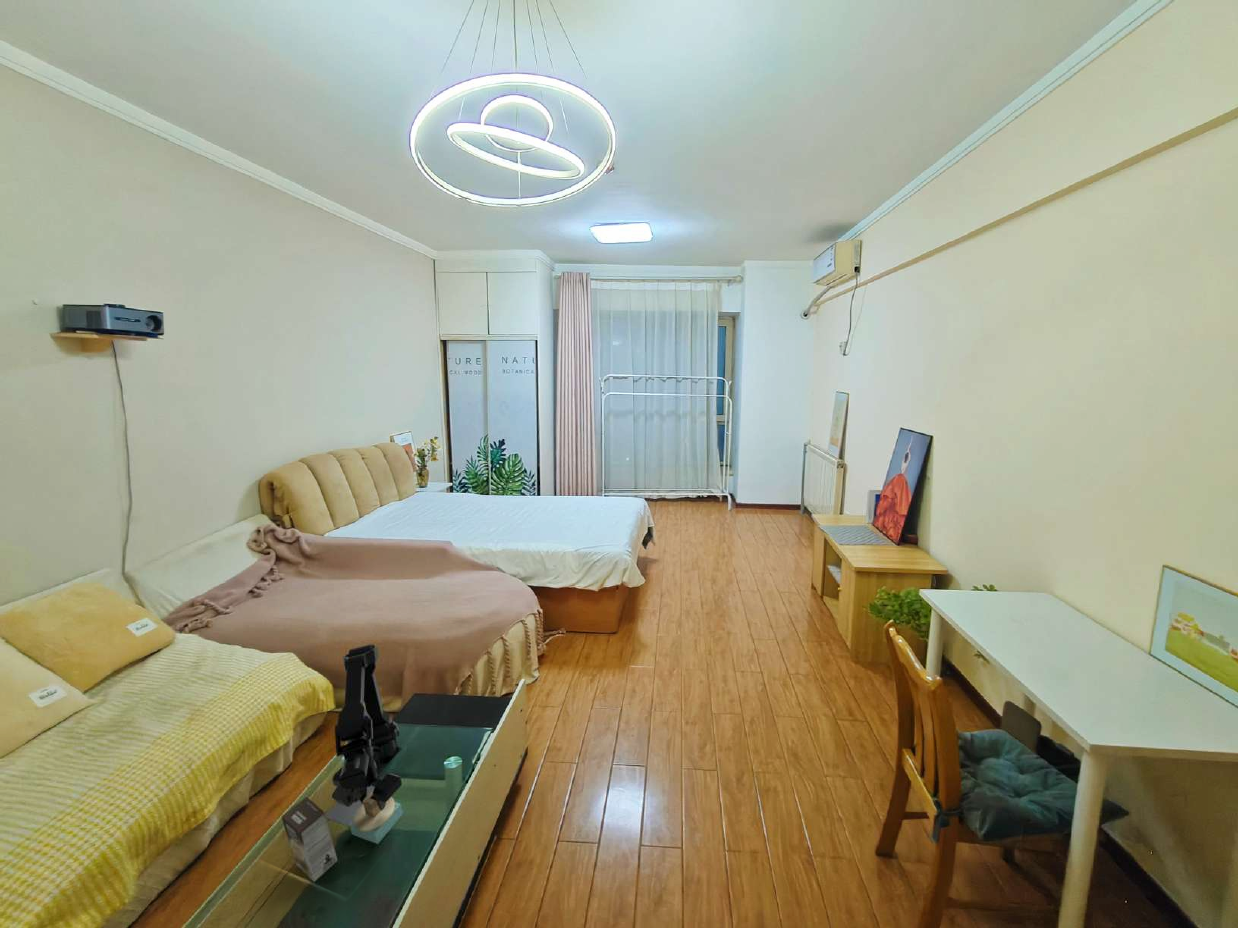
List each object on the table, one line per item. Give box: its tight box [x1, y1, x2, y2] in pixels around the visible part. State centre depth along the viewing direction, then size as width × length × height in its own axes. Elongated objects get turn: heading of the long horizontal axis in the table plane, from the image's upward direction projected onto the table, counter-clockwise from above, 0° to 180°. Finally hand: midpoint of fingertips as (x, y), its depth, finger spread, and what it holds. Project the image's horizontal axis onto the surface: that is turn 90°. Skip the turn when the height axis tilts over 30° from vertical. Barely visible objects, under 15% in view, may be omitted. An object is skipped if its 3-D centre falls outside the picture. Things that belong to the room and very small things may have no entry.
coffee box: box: [280, 796, 338, 882], centre depth 128 cm, size 9×6×16 cm
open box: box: [349, 801, 404, 845], centre depth 139 cm, size 9×9×4 cm
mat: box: [325, 786, 375, 828], centre depth 146 cm, size 12×10×1 cm
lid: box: [354, 792, 396, 831], centre depth 138 cm, size 10×10×5 cm
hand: (373, 805), depth 138 cm, fingers open, 6 cm apart
